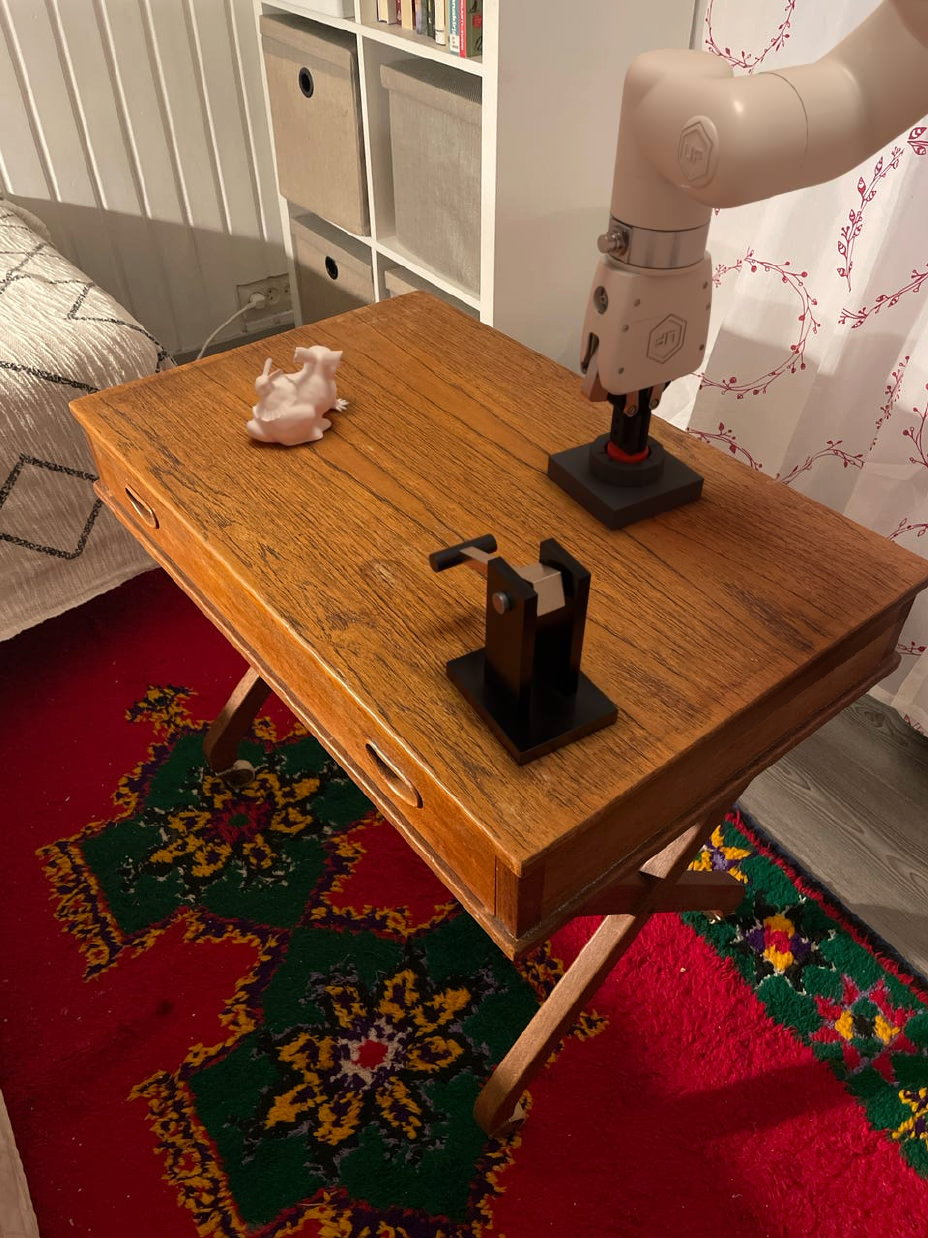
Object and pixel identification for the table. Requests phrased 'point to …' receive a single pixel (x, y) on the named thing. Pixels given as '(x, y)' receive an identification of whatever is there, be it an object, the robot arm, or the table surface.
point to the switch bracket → (533, 662)
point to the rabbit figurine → (297, 398)
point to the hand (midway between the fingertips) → (627, 445)
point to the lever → (534, 574)
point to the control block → (624, 482)
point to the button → (622, 456)
